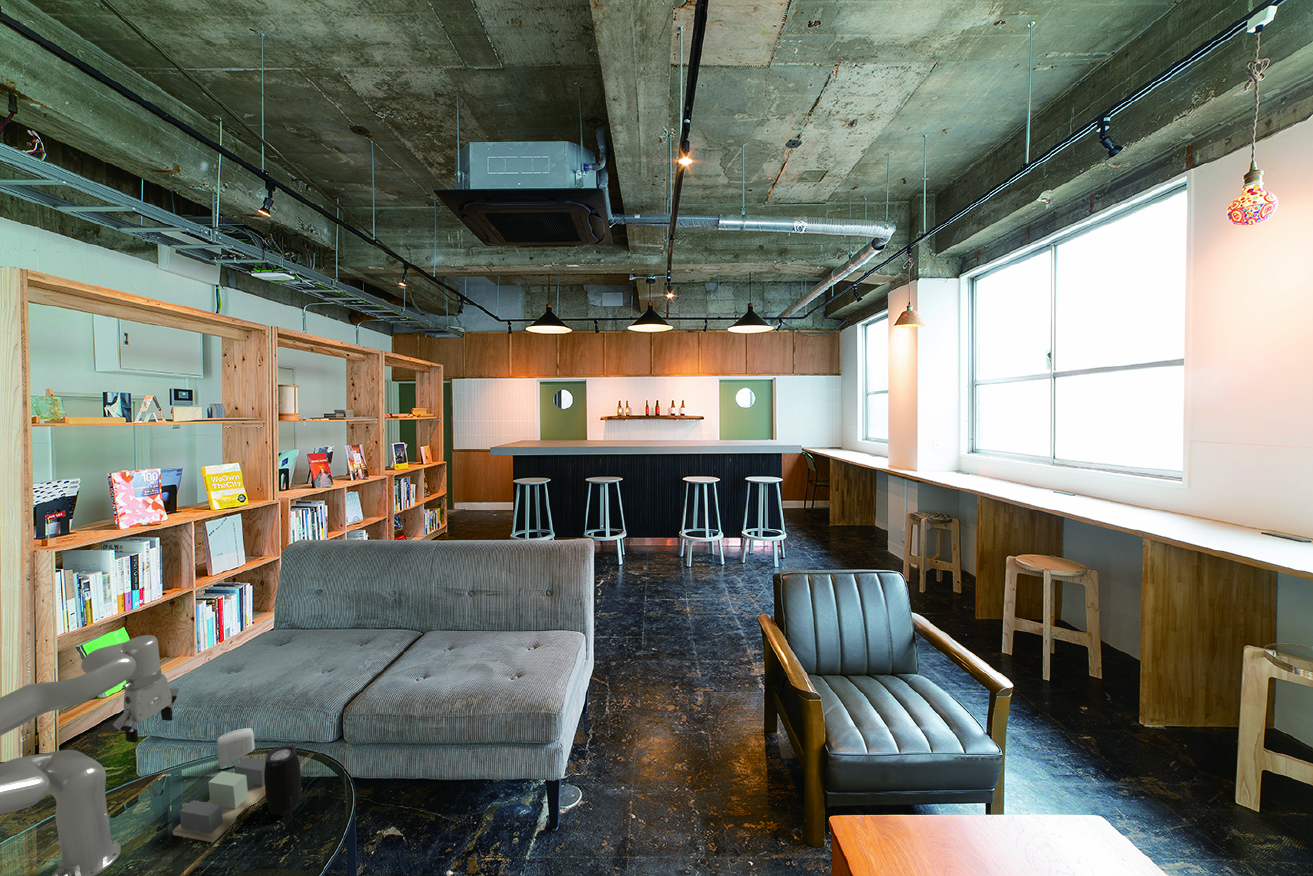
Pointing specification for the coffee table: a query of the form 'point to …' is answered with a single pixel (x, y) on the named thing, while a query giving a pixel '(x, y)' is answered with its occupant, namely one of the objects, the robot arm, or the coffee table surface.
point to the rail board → (215, 819)
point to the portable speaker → (282, 780)
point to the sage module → (228, 789)
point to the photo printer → (234, 745)
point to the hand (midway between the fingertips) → (150, 730)
